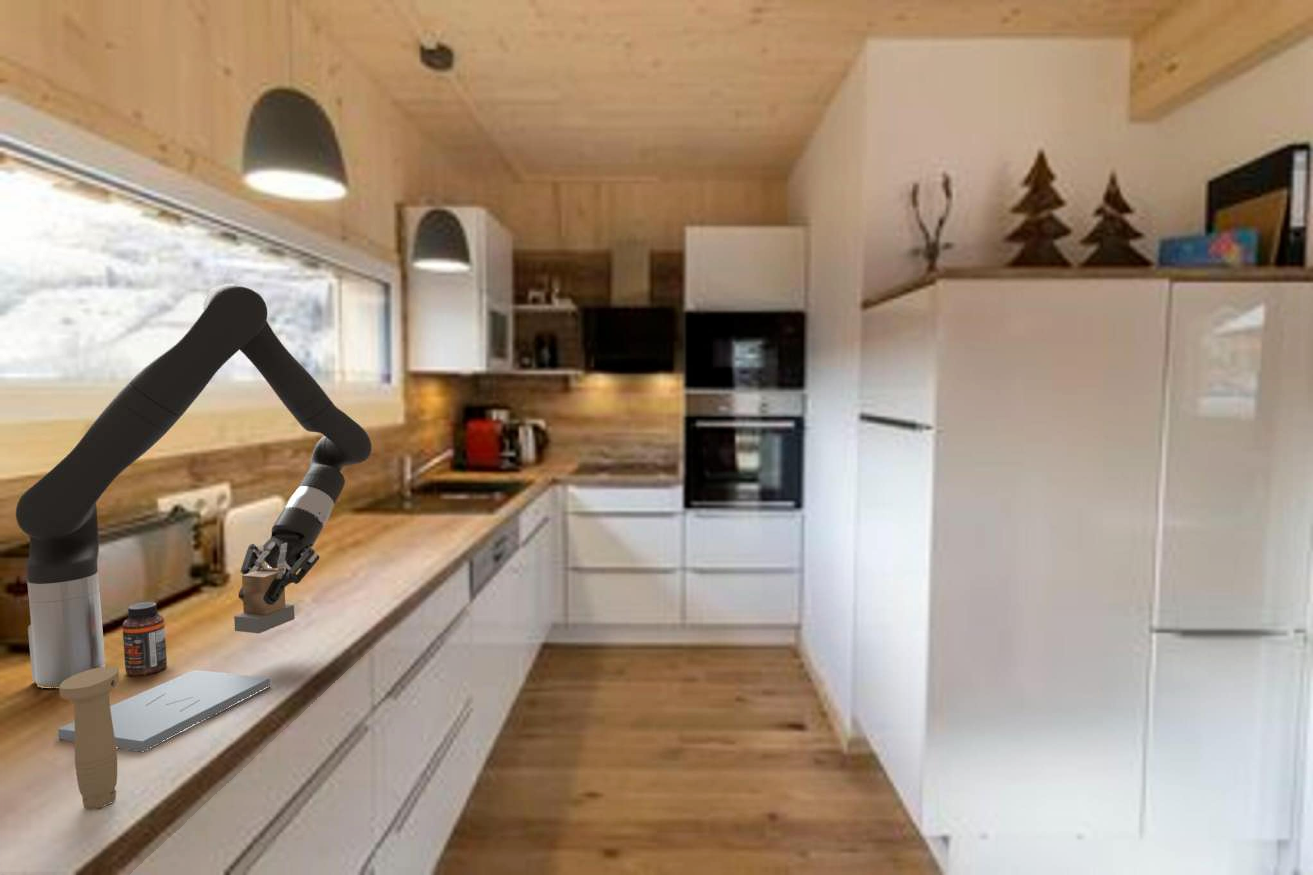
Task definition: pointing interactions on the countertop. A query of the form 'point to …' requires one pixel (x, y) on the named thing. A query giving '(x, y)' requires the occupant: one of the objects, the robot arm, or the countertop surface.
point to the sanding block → (261, 604)
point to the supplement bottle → (144, 640)
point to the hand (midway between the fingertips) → (255, 600)
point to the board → (174, 707)
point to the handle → (93, 734)
